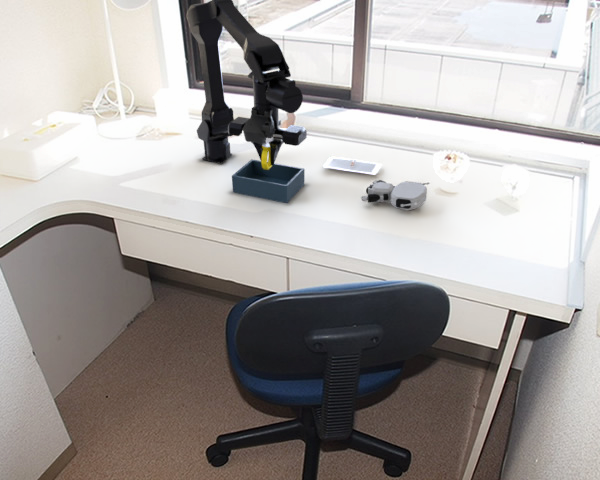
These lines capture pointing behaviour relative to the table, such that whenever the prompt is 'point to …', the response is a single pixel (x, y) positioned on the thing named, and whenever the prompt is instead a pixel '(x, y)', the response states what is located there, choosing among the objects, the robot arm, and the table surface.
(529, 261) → the table surface
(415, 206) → the robot toy
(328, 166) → the touchpad
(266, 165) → the watch
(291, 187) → the organiser tray
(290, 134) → the robot arm
